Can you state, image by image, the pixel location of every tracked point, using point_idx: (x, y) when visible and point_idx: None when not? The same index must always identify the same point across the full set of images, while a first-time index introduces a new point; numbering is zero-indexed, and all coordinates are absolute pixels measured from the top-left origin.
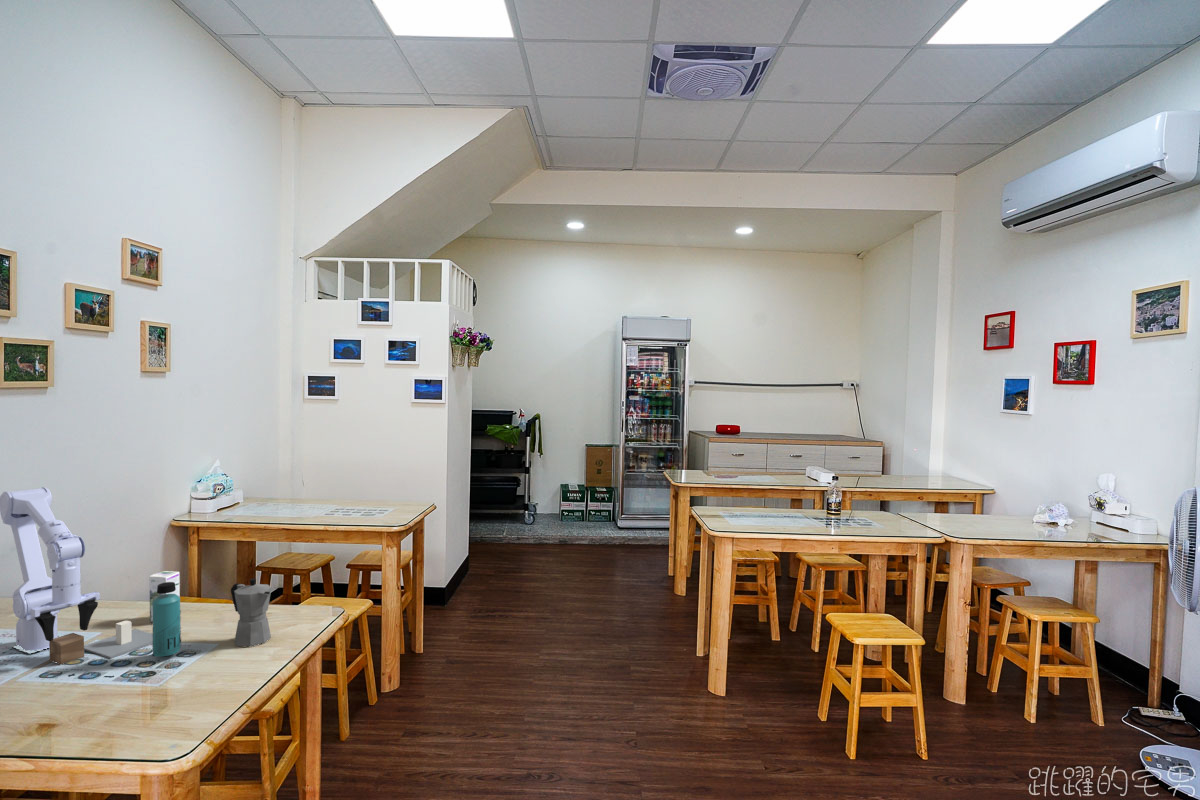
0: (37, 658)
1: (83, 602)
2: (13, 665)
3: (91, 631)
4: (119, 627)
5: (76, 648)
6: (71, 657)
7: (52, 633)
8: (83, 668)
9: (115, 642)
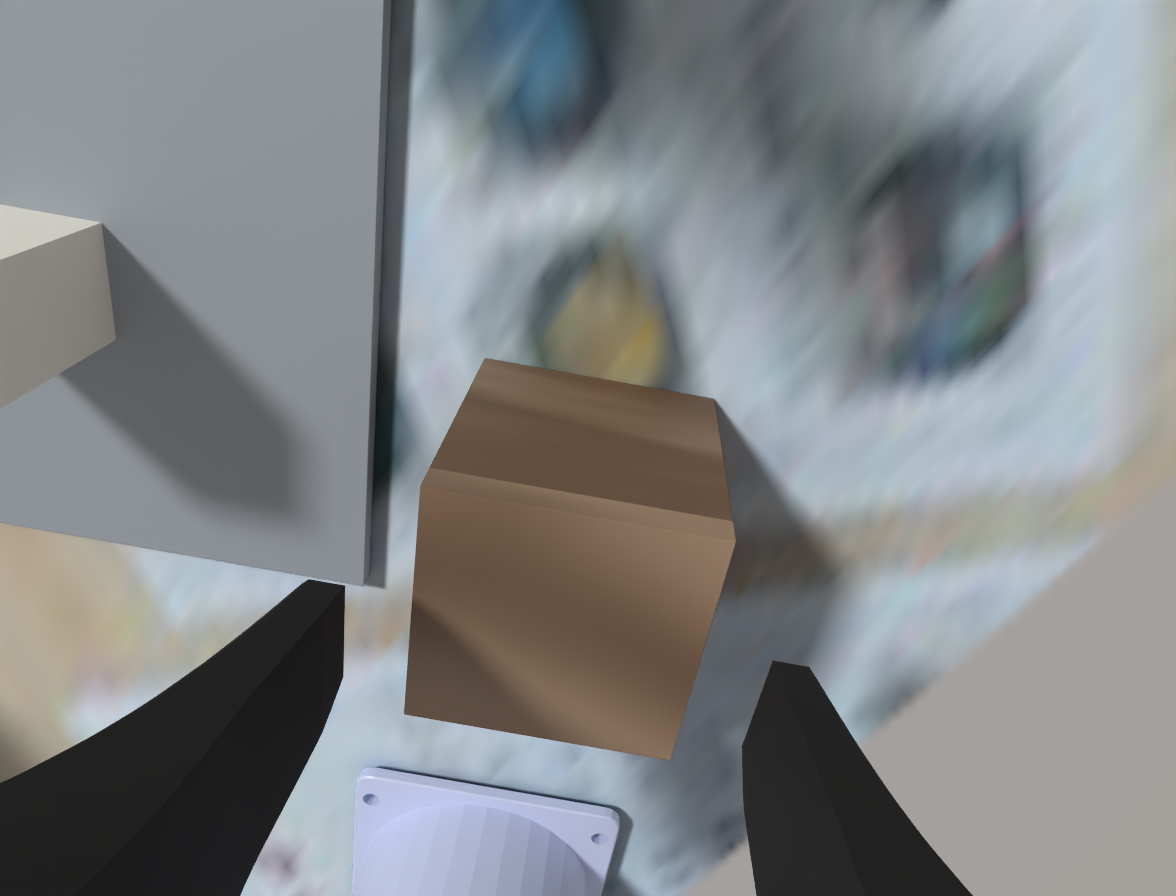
0: None
1: None
2: None
3: None
4: None
5: (545, 429)
6: (606, 400)
7: (822, 743)
8: (731, 22)
9: (111, 356)
